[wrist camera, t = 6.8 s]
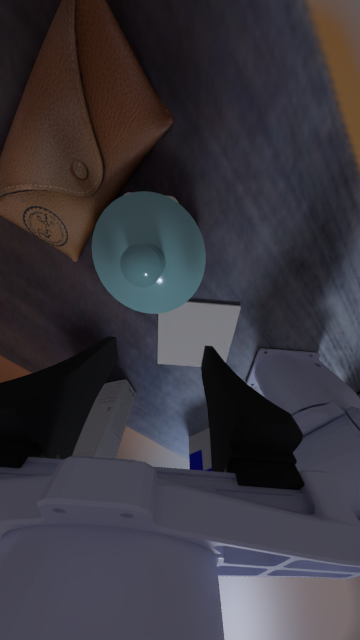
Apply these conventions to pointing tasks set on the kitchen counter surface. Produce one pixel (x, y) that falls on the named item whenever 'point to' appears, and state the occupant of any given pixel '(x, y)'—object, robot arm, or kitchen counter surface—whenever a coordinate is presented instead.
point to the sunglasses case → (78, 128)
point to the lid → (148, 252)
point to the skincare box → (106, 421)
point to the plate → (195, 332)
